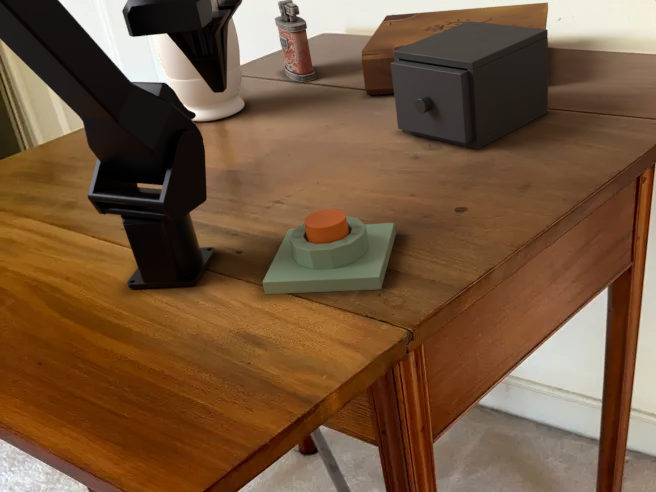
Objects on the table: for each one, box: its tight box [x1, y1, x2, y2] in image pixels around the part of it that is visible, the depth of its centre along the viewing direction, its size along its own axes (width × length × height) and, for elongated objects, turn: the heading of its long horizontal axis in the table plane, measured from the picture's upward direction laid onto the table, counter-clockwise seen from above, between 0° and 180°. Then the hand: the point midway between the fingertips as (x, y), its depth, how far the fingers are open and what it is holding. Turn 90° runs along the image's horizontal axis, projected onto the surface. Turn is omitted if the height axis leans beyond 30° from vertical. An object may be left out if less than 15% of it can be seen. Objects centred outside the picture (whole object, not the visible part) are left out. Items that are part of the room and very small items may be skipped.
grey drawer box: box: [394, 21, 549, 150], centre depth 93 cm, size 13×12×9 cm
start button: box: [303, 208, 349, 244], centre depth 70 cm, size 4×4×2 cm
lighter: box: [274, 0, 317, 83], centre depth 118 cm, size 8×3×10 cm, turn 25°
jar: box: [152, 17, 246, 122], centre depth 107 cm, size 11×10×15 cm
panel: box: [262, 215, 397, 295], centre depth 72 cm, size 10×10×3 cm
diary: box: [361, 2, 549, 96], centre depth 111 cm, size 23×19×6 cm
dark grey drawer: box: [391, 60, 473, 144], centre depth 92 cm, size 13×10×7 cm
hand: (220, 91), depth 76 cm, fingers closed
